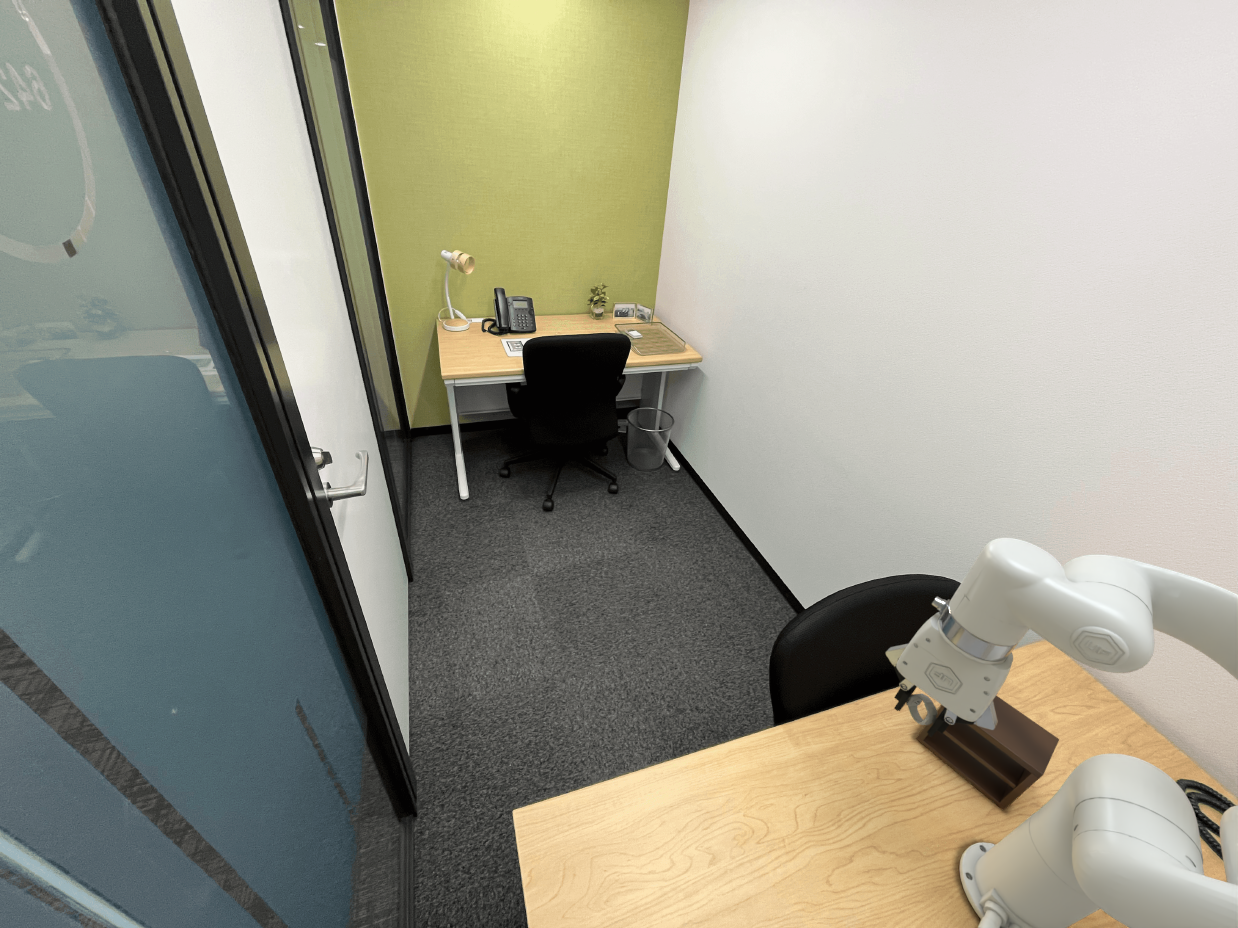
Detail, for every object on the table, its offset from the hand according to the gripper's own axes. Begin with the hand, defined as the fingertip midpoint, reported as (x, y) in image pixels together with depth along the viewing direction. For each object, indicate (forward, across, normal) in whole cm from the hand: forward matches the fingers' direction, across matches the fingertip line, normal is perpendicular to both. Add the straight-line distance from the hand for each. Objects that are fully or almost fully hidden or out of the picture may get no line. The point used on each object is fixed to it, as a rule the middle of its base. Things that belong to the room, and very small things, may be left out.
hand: (917, 715), depth 69 cm
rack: (+21, +9, +20) cm, 31 cm away
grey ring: (0, 0, 0) cm, 0 cm away
